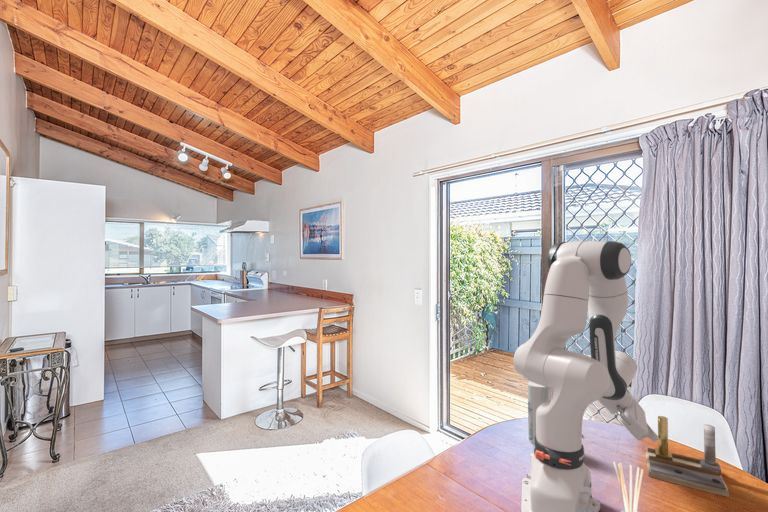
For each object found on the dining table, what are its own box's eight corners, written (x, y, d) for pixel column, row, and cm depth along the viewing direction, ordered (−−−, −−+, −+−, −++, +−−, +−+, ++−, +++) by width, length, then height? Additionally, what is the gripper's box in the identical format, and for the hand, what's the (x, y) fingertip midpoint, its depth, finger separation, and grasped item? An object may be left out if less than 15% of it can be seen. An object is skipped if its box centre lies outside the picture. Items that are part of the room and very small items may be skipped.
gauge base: (728, 497, 94) (727, 443, 94) (648, 476, 104) (647, 427, 104) (716, 471, 106) (715, 423, 106) (645, 454, 115) (645, 410, 115)
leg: (672, 462, 107) (671, 421, 107) (655, 458, 109) (655, 418, 110) (671, 456, 111) (670, 416, 111) (654, 452, 113) (654, 413, 113)
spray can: (530, 435, 128) (529, 379, 128) (549, 440, 125) (549, 382, 125) (526, 443, 123) (525, 385, 123) (547, 448, 119) (546, 388, 120)
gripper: (626, 406, 107) (668, 448, 101) (625, 386, 124) (661, 421, 118) (608, 418, 109) (649, 459, 104) (610, 396, 126) (644, 431, 121)
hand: (655, 439), depth 111 cm, fingers closed, pressing on leg
